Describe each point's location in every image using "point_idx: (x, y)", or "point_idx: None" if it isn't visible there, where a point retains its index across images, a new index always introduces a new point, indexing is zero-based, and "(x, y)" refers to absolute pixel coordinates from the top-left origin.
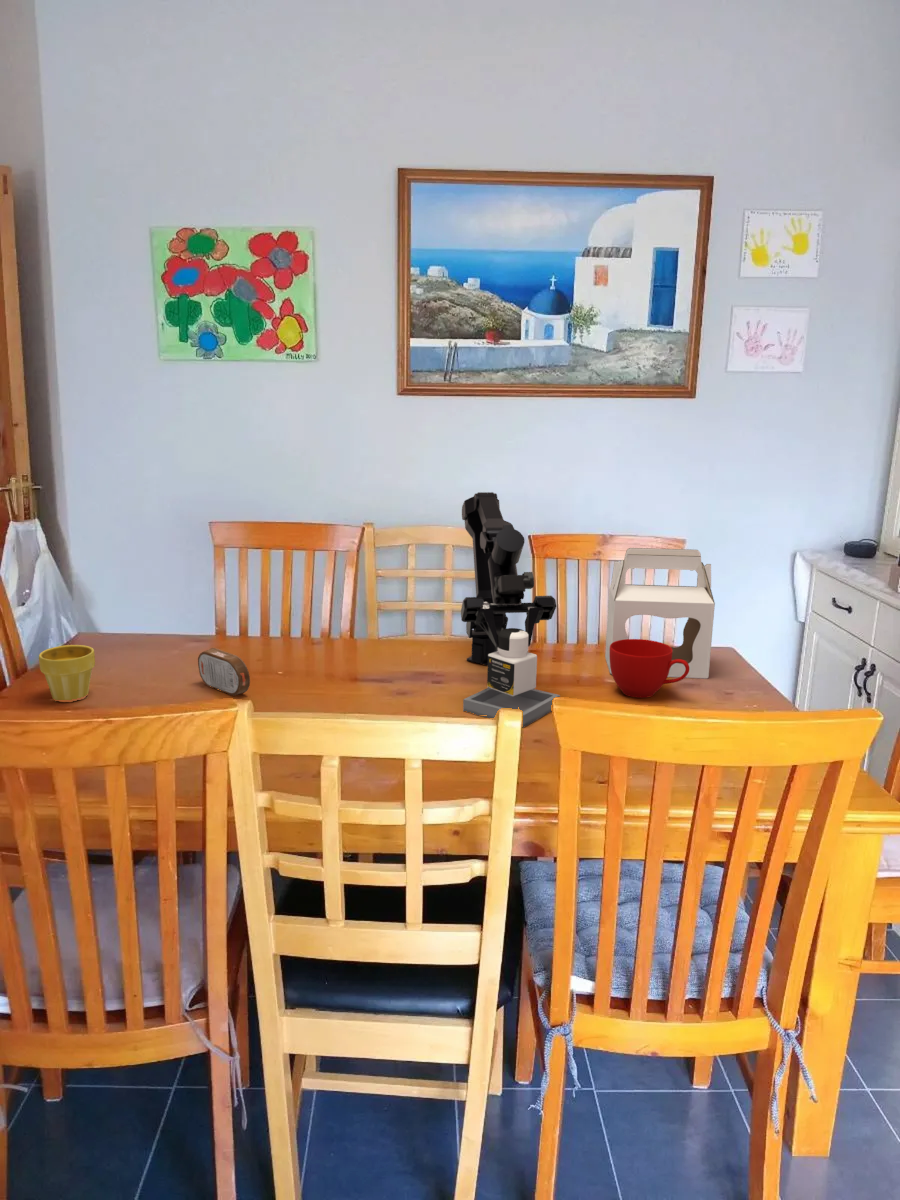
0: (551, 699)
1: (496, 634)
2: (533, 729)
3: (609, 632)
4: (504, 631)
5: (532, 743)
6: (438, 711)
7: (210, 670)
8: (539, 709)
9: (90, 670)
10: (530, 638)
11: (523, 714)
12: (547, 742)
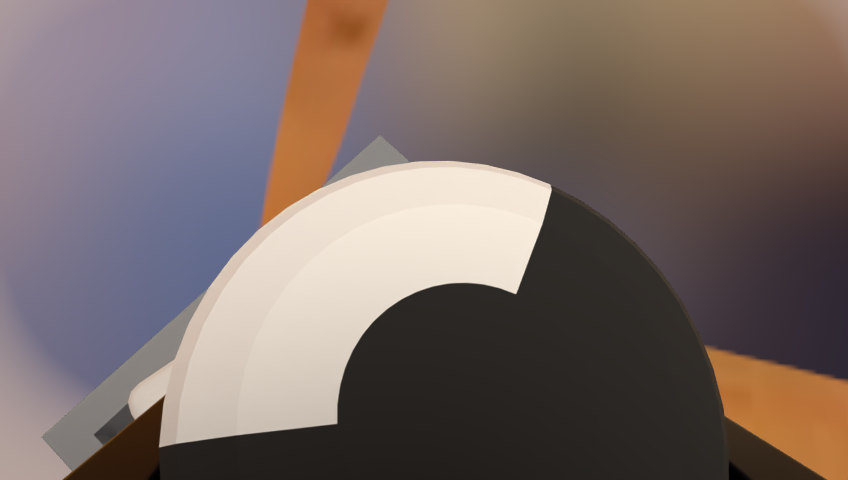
0: (136, 356)
1: (747, 468)
2: (332, 142)
3: None
4: (646, 395)
5: (375, 10)
6: (781, 427)
7: None
8: None
9: None
10: (137, 433)
11: (378, 145)
12: (309, 10)
